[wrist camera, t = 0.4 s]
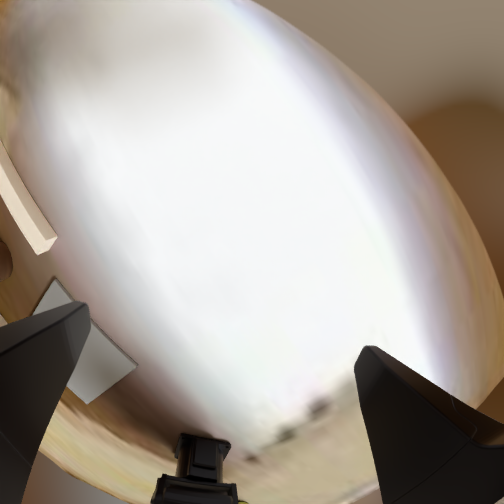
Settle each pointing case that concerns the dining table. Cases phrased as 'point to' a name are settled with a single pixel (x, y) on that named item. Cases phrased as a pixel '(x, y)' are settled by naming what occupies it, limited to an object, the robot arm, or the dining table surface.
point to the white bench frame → (23, 209)
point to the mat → (90, 353)
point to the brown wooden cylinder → (5, 262)
